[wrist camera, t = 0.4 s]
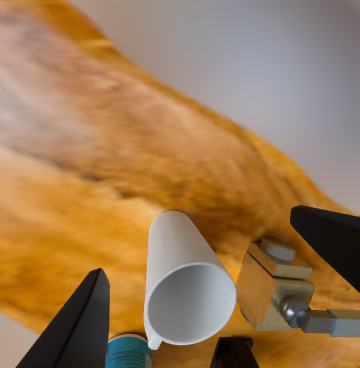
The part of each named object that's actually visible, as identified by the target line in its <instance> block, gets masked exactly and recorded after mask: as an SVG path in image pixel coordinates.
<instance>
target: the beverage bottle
mask: <svg viewBox="0 0 360 368" xmlns="http://www.w3.org/2000/svg"><path fill="white" fill-rule="evenodd" d="M105 368H152V349H150V348H149V347H148V341H147V340H146V339H145V338H143V337H142V336H139V335H136V334H122V335H119V336H116V337H114V338H112V339H110V340H109V341H108V345H107V354H106V363H105Z"/></svg>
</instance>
